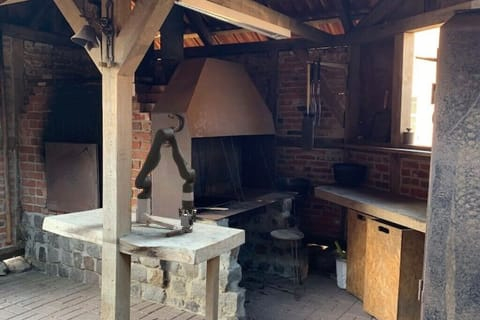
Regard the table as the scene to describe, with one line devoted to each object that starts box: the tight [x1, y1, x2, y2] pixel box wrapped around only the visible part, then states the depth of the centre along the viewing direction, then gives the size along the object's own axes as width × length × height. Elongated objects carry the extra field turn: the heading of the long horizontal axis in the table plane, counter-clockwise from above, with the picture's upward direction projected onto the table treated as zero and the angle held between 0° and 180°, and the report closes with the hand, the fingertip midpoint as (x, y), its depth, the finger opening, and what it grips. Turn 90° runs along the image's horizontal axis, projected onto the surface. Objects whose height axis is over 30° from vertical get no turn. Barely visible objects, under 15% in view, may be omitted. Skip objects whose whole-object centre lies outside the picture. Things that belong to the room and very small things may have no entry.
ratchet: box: [165, 226, 194, 238], centre depth 285 cm, size 7×22×8 cm, turn 146°
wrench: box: [141, 213, 179, 231], centre depth 302 cm, size 8×2×30 cm
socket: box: [180, 215, 195, 227], centre depth 290 cm, size 6×6×6 cm
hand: (187, 224), depth 291 cm, fingers closed on socket, 6 cm apart
